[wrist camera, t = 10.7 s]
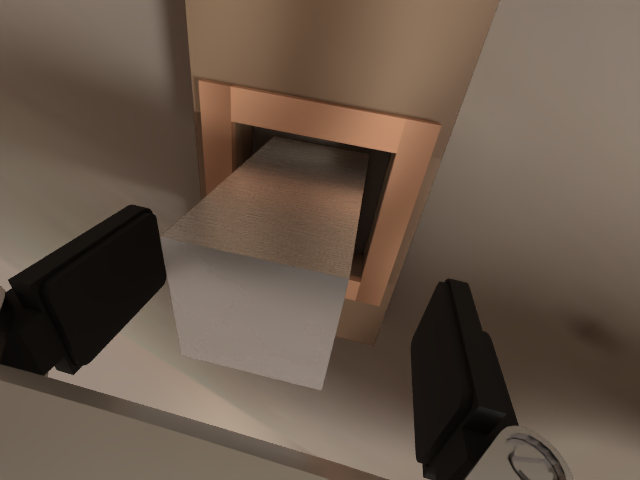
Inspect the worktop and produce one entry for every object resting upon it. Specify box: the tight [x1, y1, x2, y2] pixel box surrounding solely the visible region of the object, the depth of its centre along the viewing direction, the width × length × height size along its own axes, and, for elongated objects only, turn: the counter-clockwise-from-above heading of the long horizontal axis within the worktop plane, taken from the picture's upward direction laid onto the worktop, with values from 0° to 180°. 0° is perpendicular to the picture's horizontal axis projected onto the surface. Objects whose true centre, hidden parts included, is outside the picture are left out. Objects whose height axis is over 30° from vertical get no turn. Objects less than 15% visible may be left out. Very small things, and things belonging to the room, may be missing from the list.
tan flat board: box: [185, 0, 500, 346], centre depth 11 cm, size 10×30×2 cm, turn 172°
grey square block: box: [160, 136, 369, 391], centre depth 12 cm, size 4×4×9 cm
